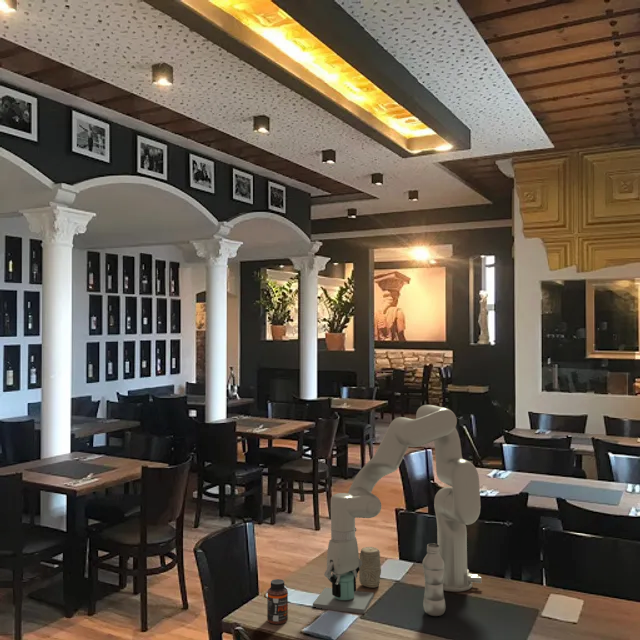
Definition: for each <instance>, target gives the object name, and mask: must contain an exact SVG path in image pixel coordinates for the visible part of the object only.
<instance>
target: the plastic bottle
mask: <svg viewBox="0 0 640 640" xmlns="http://www.w3.org/2000/svg"><path fill="white" fill-rule="evenodd" d="M439 553H440V549H439V545H438V543H428V544H427V545H426V555H425V556H424V558H423V560H422V570H423V575H424V595H423V596H424V597H423V601H422V602H423V603H422V605H423V611H424V612H425V613H426V614H427V615H429V616H432V617H438V616H439V617H441V616H442V615H444V613H445V611H446V607H447V606H446V599H445V595H444V594H445V593H444V590H443V574H444V561H443V559H442V557H441V556H440V555H439Z"/></svg>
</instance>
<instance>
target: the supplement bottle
mask: <svg viewBox="0 0 640 640" xmlns="http://www.w3.org/2000/svg"><path fill="white" fill-rule="evenodd" d="M285 586H286V585H285V581H284V579H280V578H279V579H277V578H276V579H272V580H271V581H270V587H269V588H268V589H267V593H266V594H267V595H266V596H267V601H266V603H267V608H266V609H267V622H268V623H269V624H272V625H276V626H277V625H278V626H279V625H283V624H285V623H287V622H288V619H289V618H288V617H289V605H288V604H289V598H288V597H289V595H288V594H289V593H288V592H289V591H288V589H287V588H286V587H285Z"/></svg>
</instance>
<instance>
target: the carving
mask: <svg viewBox="0 0 640 640" xmlns="http://www.w3.org/2000/svg"><path fill="white" fill-rule="evenodd" d="M380 553H381V551H380V549H379V548H378V547H373V546H365V547H363V548H361V550H360V552H359V559H360V560H361V561H362V565H361V567H360V568H359V572H358V578H359V583H360V585H362V586H364V587H367V588H377V587H379V586H380V582H381V574H382V565H381V564H382V562H381V554H380Z"/></svg>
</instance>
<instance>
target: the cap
mask: <svg viewBox="0 0 640 640" xmlns="http://www.w3.org/2000/svg"><path fill="white" fill-rule="evenodd" d="M336 576H337V575H335V579H336ZM339 584H340V585H341V596H340V597H339V598H338V597H336V596H335V598H336V599H339V600H350V599H352V598H354V575H353V574H352V573H350V572H347V573H344V574H341V577H340V581H339Z"/></svg>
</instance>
